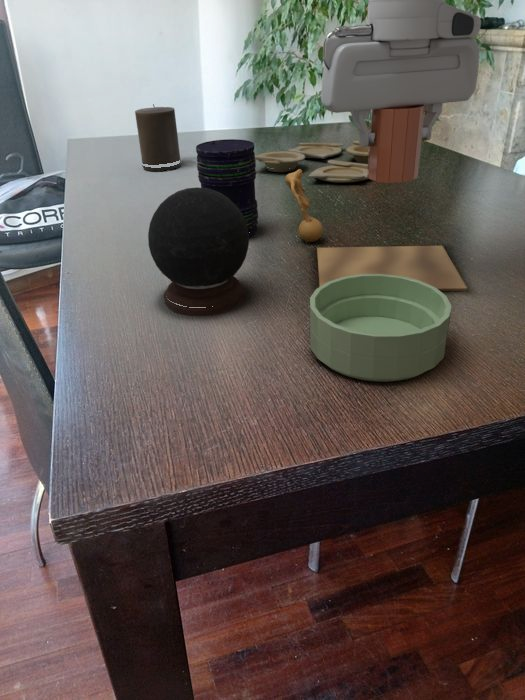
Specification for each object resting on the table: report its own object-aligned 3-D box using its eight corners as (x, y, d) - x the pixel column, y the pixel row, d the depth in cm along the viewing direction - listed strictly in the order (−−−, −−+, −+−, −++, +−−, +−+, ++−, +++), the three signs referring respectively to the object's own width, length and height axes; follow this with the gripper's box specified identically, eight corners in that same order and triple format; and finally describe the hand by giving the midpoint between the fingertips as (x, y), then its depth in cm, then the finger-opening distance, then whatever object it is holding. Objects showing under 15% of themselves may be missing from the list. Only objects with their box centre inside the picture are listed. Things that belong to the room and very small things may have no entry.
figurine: (321, 250, 92) (322, 175, 86) (284, 250, 93) (283, 176, 87) (323, 232, 99) (324, 162, 93) (288, 232, 100) (287, 163, 94)
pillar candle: (164, 173, 140) (156, 107, 132) (135, 169, 144) (125, 106, 137) (189, 164, 147) (182, 101, 139) (160, 161, 151) (152, 100, 144)
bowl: (429, 316, 72) (435, 272, 69) (458, 385, 59) (466, 335, 56) (309, 317, 73) (309, 274, 70) (310, 385, 60) (311, 336, 57)
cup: (412, 169, 80) (419, 100, 75) (421, 182, 74) (428, 108, 70) (365, 171, 81) (369, 102, 76) (370, 183, 75) (374, 110, 70)
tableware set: (356, 190, 121) (357, 170, 119) (239, 177, 134) (238, 159, 132) (407, 154, 146) (409, 138, 144) (305, 146, 159) (305, 131, 157)
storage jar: (270, 231, 101) (267, 143, 93) (229, 246, 95) (222, 154, 88) (233, 219, 107) (227, 136, 100) (192, 233, 102) (182, 146, 94)
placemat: (442, 247, 91) (442, 245, 91) (466, 290, 78) (467, 288, 77) (317, 249, 93) (317, 247, 92) (319, 292, 79) (319, 289, 79)
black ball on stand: (137, 300, 79) (119, 193, 71) (206, 270, 87) (197, 170, 79) (202, 329, 71) (189, 212, 64) (271, 292, 80) (267, 185, 72)
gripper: (334, 27, 63) (331, 156, 70) (493, 18, 68) (475, 140, 75) (313, 26, 68) (312, 146, 76) (463, 18, 73) (448, 131, 80)
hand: (395, 143), depth 75 cm, fingers closed on cup, 7 cm apart
